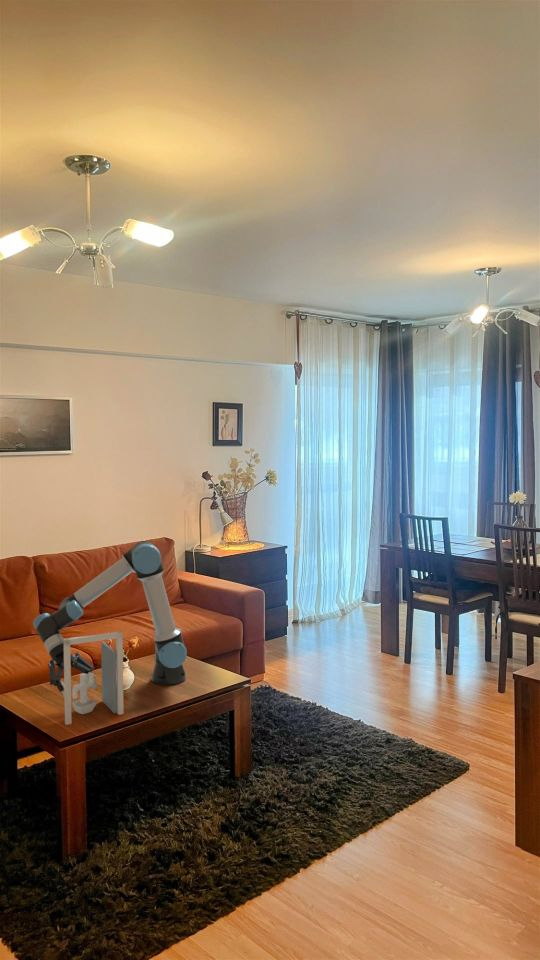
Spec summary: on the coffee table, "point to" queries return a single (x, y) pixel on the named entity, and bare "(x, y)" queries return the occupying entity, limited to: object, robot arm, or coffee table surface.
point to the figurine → (83, 694)
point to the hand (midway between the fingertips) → (82, 692)
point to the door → (109, 677)
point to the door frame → (67, 668)
